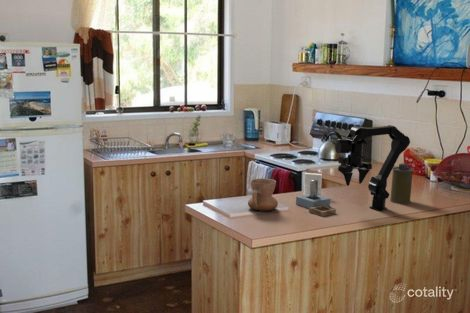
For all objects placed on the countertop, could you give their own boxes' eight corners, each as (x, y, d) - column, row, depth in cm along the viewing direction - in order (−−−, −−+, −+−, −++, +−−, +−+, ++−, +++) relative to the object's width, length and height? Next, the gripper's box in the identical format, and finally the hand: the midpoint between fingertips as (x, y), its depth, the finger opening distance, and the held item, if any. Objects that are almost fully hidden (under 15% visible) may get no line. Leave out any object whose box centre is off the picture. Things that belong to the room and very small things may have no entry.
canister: (404, 205, 307) (407, 166, 303) (386, 201, 314) (389, 163, 310) (414, 201, 315) (417, 164, 311) (396, 197, 322) (399, 161, 318)
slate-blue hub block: (312, 201, 309) (313, 193, 308) (329, 206, 300) (330, 198, 299) (295, 204, 301) (296, 196, 301) (313, 209, 292) (313, 201, 291)
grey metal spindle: (315, 204, 303) (316, 179, 300) (318, 206, 299) (319, 180, 297) (307, 204, 302) (309, 179, 299) (310, 206, 298) (312, 181, 296)
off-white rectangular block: (321, 194, 323) (322, 172, 321) (319, 198, 314) (321, 176, 312) (304, 193, 325) (305, 171, 323) (302, 197, 316) (304, 174, 314)
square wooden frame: (321, 209, 294) (322, 205, 293) (335, 213, 287) (335, 209, 286) (308, 211, 288) (309, 207, 288) (322, 216, 281) (322, 212, 281)
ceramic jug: (259, 203, 301) (259, 175, 298) (284, 207, 293) (285, 179, 291) (239, 211, 287) (239, 182, 284) (265, 216, 279) (266, 186, 276)
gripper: (355, 148, 300) (353, 179, 303) (330, 151, 289) (328, 183, 292) (373, 152, 292) (371, 183, 295) (348, 155, 280) (346, 188, 283)
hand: (354, 184), depth 291 cm, fingers open, 9 cm apart
